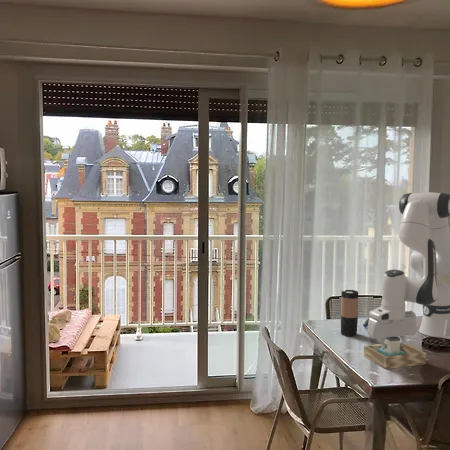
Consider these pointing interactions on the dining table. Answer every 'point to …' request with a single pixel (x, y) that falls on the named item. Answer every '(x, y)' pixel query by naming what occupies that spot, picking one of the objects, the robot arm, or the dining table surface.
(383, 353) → the teal socket
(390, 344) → the ivory connector
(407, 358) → the birch crate
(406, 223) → the robot arm
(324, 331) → the dining table surface
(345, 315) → the travel mug
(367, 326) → the snack package
